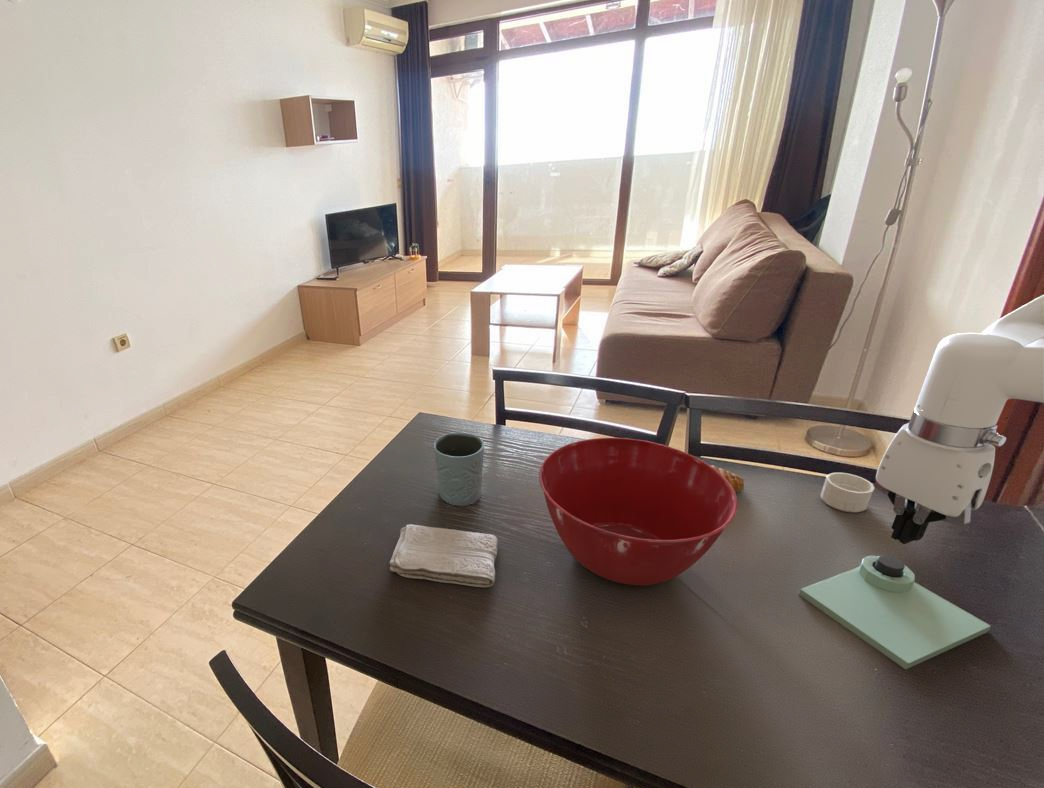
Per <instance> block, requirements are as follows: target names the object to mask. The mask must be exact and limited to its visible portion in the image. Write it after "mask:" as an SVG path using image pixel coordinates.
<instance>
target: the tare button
mask: <svg viewBox="0 0 1044 788" xmlns="http://www.w3.org/2000/svg"><path fill="white" fill-rule="evenodd" d="M878 556H879V557H878V559H877V561H876V563H875V566H874V567H875V569H876V570H877V571H878V572H880V573H882V574H883V575H886V576H889V577H895V578H898V577H900V576H901V574H902V572H903V569H904V567H905V566H906V565H905V564H904V562H902V561H901V560H900V559H898V558H897V557H894V556H891V555H885V554H883V555H878ZM904 565H905V566H904Z"/></svg>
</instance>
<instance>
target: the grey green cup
mask: <svg viewBox="0 0 1044 788" xmlns="http://www.w3.org/2000/svg"><path fill="white" fill-rule="evenodd" d="M433 452H434V460H435V466H436V471H437V474H436V475H437V481H438V494H439V497H440V496H441V497H440V499H441V498H442V499H443V500H444V501H446V502H448V503H451V504H454V505H468V506H470V505H469V504H471V503H474V502H475V503H477V502H478V501H479V500H480V498H481V495H482V483H483V476H482V475H483V468H484V453H485V442H484V441H483V439H482V438H481V437H479V436H478V435H475V434H473V433H468V432H451V433H446V434H443V435H441V436H439V437H437V439H435V440H434V443H433ZM442 499H441V500H442ZM478 499H479V500H478ZM443 500H442V501H443ZM477 500H478V501H477ZM444 501H443V502H444ZM476 501H477V502H476ZM446 502H445V503H446ZM448 503H447V504H448ZM475 503H474V504H475ZM454 505H453V506H454Z"/></svg>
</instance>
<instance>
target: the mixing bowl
mask: <svg viewBox="0 0 1044 788" xmlns="http://www.w3.org/2000/svg"><path fill="white" fill-rule="evenodd" d="M711 466H712V465H710V464H709V463H707V462H705V461H704V460H702V459H700V458H698V457H696V456H694V455H692V454H690V453H688V452H685V451H683V450H681V449H677V448H675V447H672V446H668V445H666V444H661V443H657V442H653V441H649V440H643V439H636V438H629V437H628V438H627V437H597V438H596V437H595V438H589V439H583V440H577V441H574V442H571V443H568V444H565V445H563V446H561V447H559V448H557V449H555V450H554V451H553V452H551V453H550V454H549V455H547V456H546V458H545V459H544V460H543V461H542V463H541V465H540V468H539V472H538V480H539V484H540V487H541V490H542V492H543V495H544V499H545V503H546V507H547V511H548V512H549V515H550V518H551V520H552V523H553V525H554V528H555V530H556V532H557V534H558V535H559V538H560V539H561V542H562V543H563V544H564V546H565V548H566V549H567V550H568V552H569V553H570V554H571V556H572V557H573V558H574V559H575V560H576V561H577V562H578V563H579V564H581V565H582V566H583V567H584V568H585V569H587V570H588V571H591V573H593V574H595V575H596V576H599V577H601V578H603V579H606V580H608V581H611V582H615V583H619V584H621V585H623V584H624V585H629V586H651V585H657V584H661V583H665V582H667V581H670V580H673V579H674V578H676V577H678V576H679V575H681V574H682V573H684V572H685V571H687V570H689V568H691V567H692V566H694V565H695V564H696V563H697V562H698V561H699V560H700V559H701V558H702V557H703V556H705V554H706V553H707V552H708V551H709V550H710V548H711V547H712V546H714V544H715V543H716V542H717V540H718V539H719V537H720V536H721V534H722V533H723V532H724V530H725V529H726V528H727V527H728V526H729V525H730V524H731V523H732V522H733V520H734V518H735V517H736V514H737V512H738V503H739V502H738V497H737V494H736V492H734V490H733V488H732V486H731V485H730V483H729V482H728V481H727V480H726V479H725V478H724V476H723V475H721V474H720V473H719V472H718V471H717V470H715V469H714V468H713V467H711Z"/></svg>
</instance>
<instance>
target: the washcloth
mask: <svg viewBox="0 0 1044 788" xmlns="http://www.w3.org/2000/svg"><path fill="white" fill-rule="evenodd" d="M399 532H400V535H399V539H398V540H397V543H396V545H395V548H394V550H393V553H392V556H391V559H390V561H389V565H390V566H389V571H391V572H393V573H396V574H397V575H399V576H401V577H404V578H407V579H416V580H427V581H432V582H438V583H444V584H454V585H460V586H468V587H475V588H491V587H492V586H495V581H496V569H495V563H496V559H497V556H498V545H499V543H498V542H499V540H498V538H497V536H496V535H494V534H489V533H482V532H481V533H480V532H472V531H466V530H458V529H454V528H453V529H452V528H451V529H449V528H443V527H433V526H426V525H418V524H411V523H409V524H406V525H405V527H402V528H400V530H399Z"/></svg>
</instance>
